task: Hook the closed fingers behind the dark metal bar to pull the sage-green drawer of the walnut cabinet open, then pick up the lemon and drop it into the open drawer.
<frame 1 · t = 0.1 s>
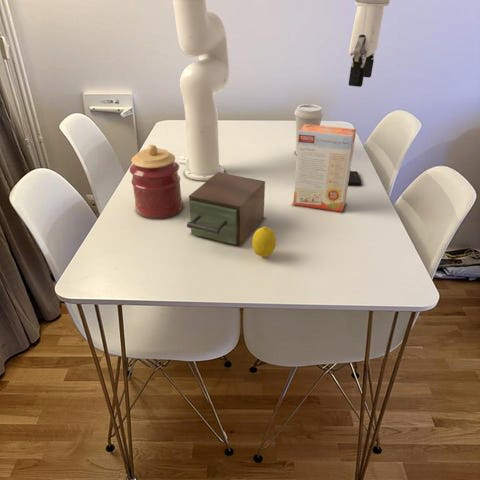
hand: (359, 81, 113), 31 cm above the table, tool pointing down, fingers open, 9 cm apart
drawer: (220, 215, 115), point 5 cm above the table, slide at 0.0 cm
lemon: (263, 257, 110), on the table
cabinet: (228, 226, 121), on the table
cell phone: (329, 179, 144), on the table
kitchen canister: (159, 209, 129), on the table
coffee cup: (305, 153, 161), on the table
cracker box: (318, 205, 131), on the table
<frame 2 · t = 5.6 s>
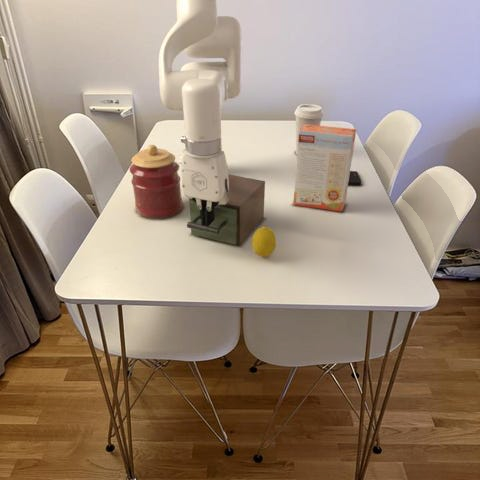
hand: (207, 223, 109), 7 cm above the table, tool pointing down, fingers closed
drawer: (220, 215, 115), point 5 cm above the table, slide at 0.0 cm, touching gripper
everything else where it was.
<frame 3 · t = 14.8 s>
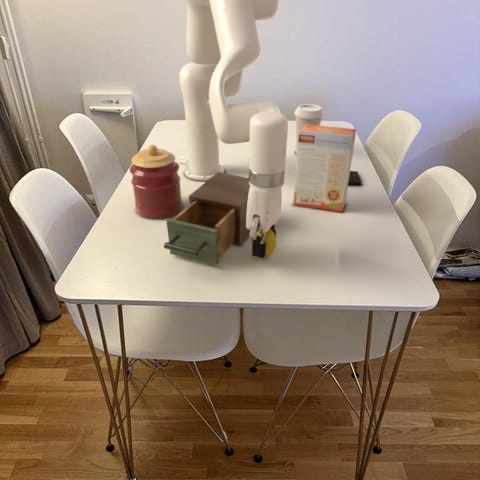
hand: (263, 249, 109), 2 cm above the table, tool pointing down, fingers closed on lemon, 5 cm apart
drawer: (201, 234, 108), point 5 cm above the table, slide at 10.3 cm
lemon: (263, 257, 110), on the table, touching gripper
everything else where it was.
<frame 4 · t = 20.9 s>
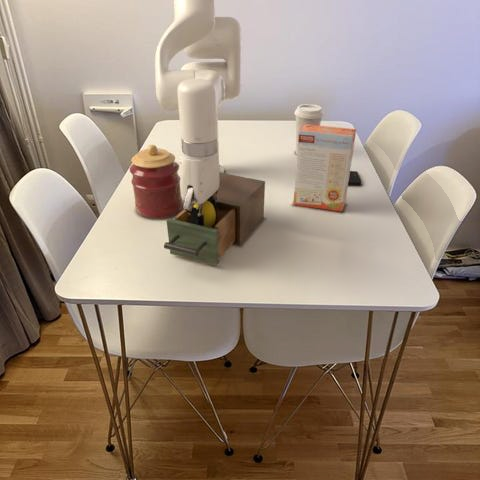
hand: (204, 222, 108), 7 cm above the table, tool pointing down, fingers closed on lemon, 5 cm apart
lemon: (204, 231, 109), point 5 cm above the table, touching gripper
everything else where it was.
when the fingers open (7 cm above the table, at t = 23.7 s): lemon drops 3 cm, resting on drawer.
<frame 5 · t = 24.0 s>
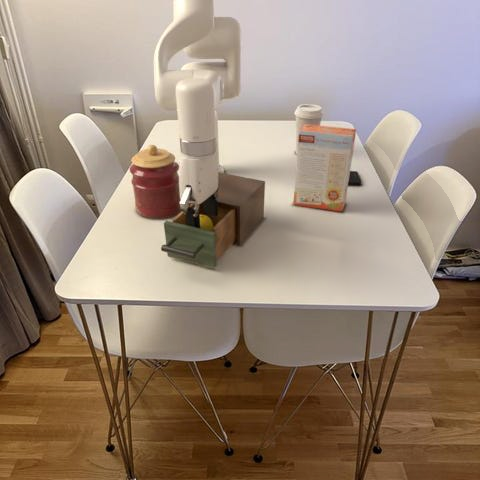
hand: (202, 222, 107), 8 cm above the table, tool pointing down, fingers open, 7 cm apart
drawer: (198, 236, 107), point 5 cm above the table, slide at 11.5 cm, touching lemon
lemon: (203, 245, 110), point 2 cm above the table, touching drawer
everything else where it was.
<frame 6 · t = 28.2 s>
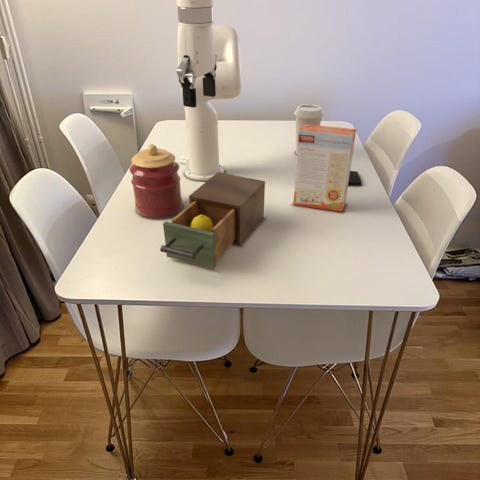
hand: (200, 101, 110), 28 cm above the table, tool pointing down, fingers open, 9 cm apart
nothing on the table moved.
at the end: drawer slide at 11.8 cm; lemon inside the target area in the drawer (4.1 cm from its centre), point 1.8 cm above the cabinet's base; lemon touching drawer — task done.
